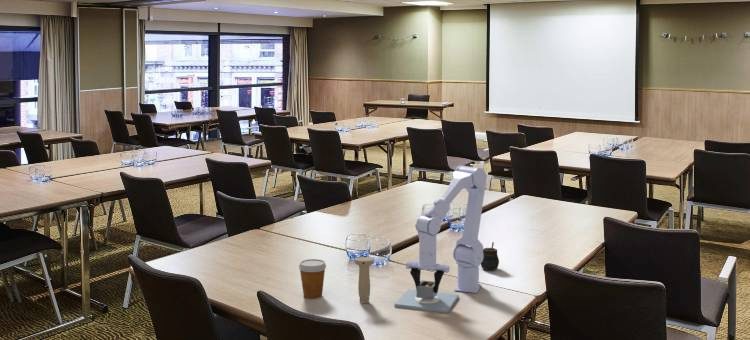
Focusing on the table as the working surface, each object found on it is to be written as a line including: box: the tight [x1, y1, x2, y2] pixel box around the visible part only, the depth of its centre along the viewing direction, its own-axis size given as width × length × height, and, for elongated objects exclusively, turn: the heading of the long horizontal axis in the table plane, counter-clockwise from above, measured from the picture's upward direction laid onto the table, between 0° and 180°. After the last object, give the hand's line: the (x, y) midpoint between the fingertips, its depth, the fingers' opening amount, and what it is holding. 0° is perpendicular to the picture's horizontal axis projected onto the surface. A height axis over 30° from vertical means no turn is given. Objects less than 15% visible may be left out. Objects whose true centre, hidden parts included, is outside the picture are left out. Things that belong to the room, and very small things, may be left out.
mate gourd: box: [480, 241, 500, 272], centre depth 273 cm, size 7×8×10 cm
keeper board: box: [394, 285, 460, 314], centre depth 235 cm, size 16×18×6 cm
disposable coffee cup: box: [298, 258, 327, 300], centre depth 241 cm, size 10×10×12 cm
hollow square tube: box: [417, 279, 439, 299], centre depth 235 cm, size 6×6×4 cm
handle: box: [354, 256, 375, 304], centre depth 235 cm, size 5×6×15 cm
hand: (427, 290), depth 235 cm, fingers open, 6 cm apart
